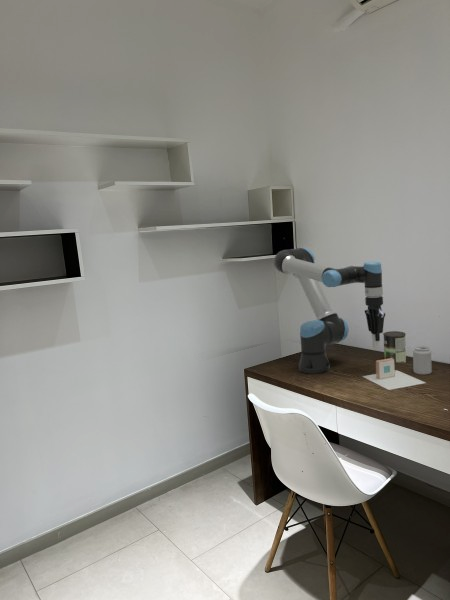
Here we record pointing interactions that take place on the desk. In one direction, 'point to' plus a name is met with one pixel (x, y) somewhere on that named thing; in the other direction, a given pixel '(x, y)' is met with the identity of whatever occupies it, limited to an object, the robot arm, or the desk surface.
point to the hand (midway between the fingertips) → (376, 347)
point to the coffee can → (395, 346)
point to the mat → (395, 380)
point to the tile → (385, 368)
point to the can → (422, 360)
